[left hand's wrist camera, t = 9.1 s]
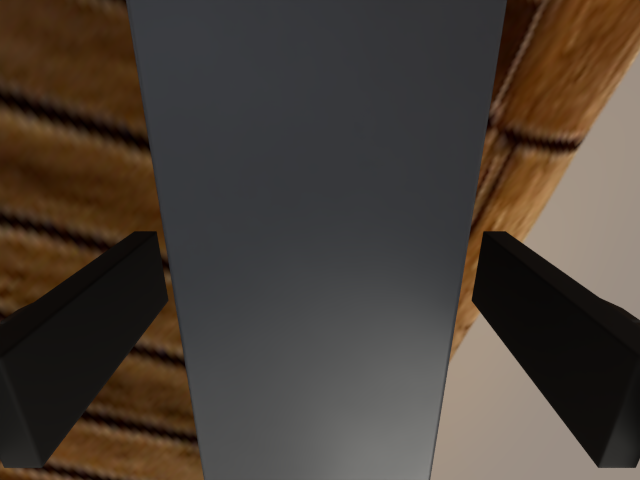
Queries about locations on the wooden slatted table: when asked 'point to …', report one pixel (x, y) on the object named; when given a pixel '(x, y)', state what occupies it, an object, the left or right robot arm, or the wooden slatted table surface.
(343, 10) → the bar
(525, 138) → the wooden slatted table surface
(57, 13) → the wooden slatted table surface
